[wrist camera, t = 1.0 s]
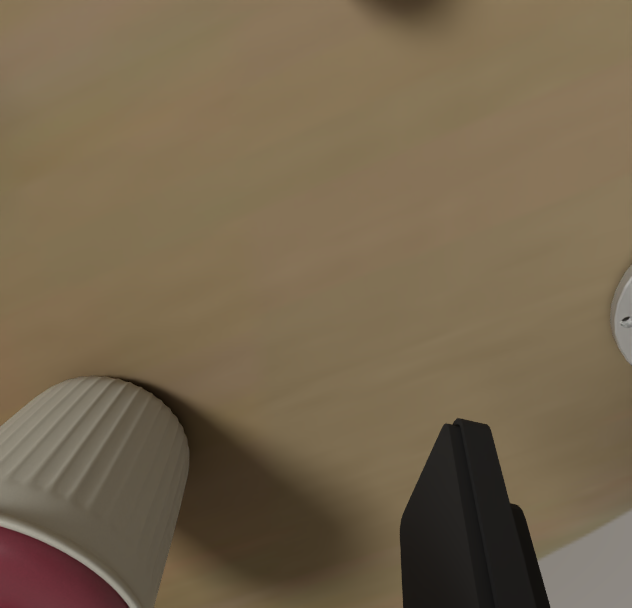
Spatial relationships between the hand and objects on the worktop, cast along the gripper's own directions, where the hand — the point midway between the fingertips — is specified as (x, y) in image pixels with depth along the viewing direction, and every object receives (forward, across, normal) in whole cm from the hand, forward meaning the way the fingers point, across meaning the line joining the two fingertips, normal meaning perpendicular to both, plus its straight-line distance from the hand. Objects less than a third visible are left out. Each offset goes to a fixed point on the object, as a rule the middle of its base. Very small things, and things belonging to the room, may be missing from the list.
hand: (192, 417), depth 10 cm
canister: (+26, +11, +29) cm, 41 cm away
